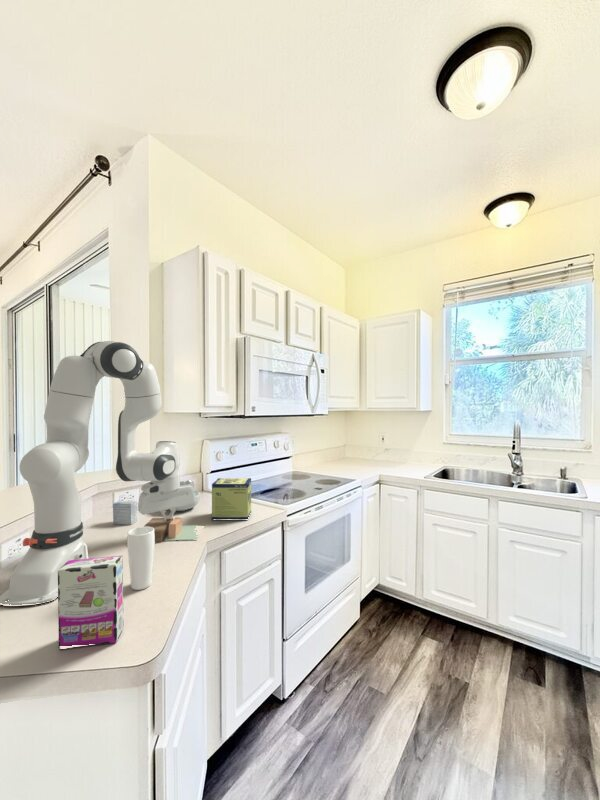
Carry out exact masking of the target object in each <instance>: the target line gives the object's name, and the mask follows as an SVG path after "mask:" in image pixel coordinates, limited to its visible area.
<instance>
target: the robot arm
mask: <svg viewBox="0 0 600 800" xmlns="http://www.w3.org/2000/svg"><path fill="white" fill-rule="evenodd" d="M155 368H156V367H155V366H154V364H152V363H151V362H148V361H145V360H142V359H141V357H140V356H139V353H138V352H137V351H136V350H135V349H134V347H132V346H131V345H130V344H127V343H125V342H122V341H121V342H120V341H119V342H118V341H113V340H106V341H105V340H103V341H98V342H97V341H96V342H94V343H92V344H90V346H88V347H87V348H86V349H85V350H84V351H83V353H81V354H80V355H68V356H65V357H63V358H62V359H61V360H60V361H59V363H58V366H57V367H56V370H55V372H54V374H53V377H52V379H51V384H50V386H49V387H50V388H49V391H48V397H47V401H46V405H45V410H44V414H43V420H44V421H45V424H46V425H45V426H46V441H45V443H42V444H39V445H36V446H35V447H32V448H31V450H29V451H28V452H27V453H26V454H24V455H23V457H22V458H21V460H20V462H19V472H20V473H19V474H20V475H21V477H22V478H23V479H24V480H25V481H26V482H27V483H28V487H29V489H30V492H31V496H32V500H33V512H34V515H33V516H34V517H33V518H34V520H33V521H34V529H33V531H32V533H31V536H30V537H25V538H24V539H23V541H22V543H21V544H22V546H23V547H26V546H29V548H28V550H27V551H26V552H25V554H24V555H23V557H22V558H21V560H20V561H19V562H18V564H17V566H16V567H15V569H14V570H13V571H12V573H11V574H10V576H9V577H10V579H9V586H8V588H7V589H6V590H5V591H4V592H3V593H2V594H1V595H0V603H2V604H9V605H10V604H11V605H22V604H36V603H43V602H47V601H51V600H53V599H55V598H56V597H58V570H59V569H60V568H61V567H62V566H63V565H64V564H65V563H66V562H67V561H69V560H79V559H89V553H88V546H87V543H86V542H85V541H84V539H83V535H84V524H83V521H82V497H81V494H80V493H79V491H78V489H77V485H76V480H75V473H77V472H78V471H80V470H81V469H82V467H84V466H85V464H86V463H87V461H88V458H89V456H90V451H89V429H90V428H89V427H90V419H91V415H92V410H93V409H92V408H93V404H94V400H95V395H96V389H97V385H98V384H99V382H100V381H101V379H103V378H104V377H107V378H112V379H113V378H115V379H119V380H120V382H121V383H122V386H123V391H124V398H125V403H124V408H123V409H122V410H121V412H119V415H118V420H117V422H118V423H117V458H116V464H115V472H116V475H117V477H119V478H120V480H122V481H123V482H136V481H138V482H140V481H141V482H146V483H144V484H142V485H141V486H140V487H141V488H140V489H141V491H142V492H141V493H140V494H139V497H138V501H137V502H138V503H137V504H138V505H137V511H138V513H140V514H141V515H149V514H152V513H157V512H160V514H161V516H162V518H163V521H164V522H166V521H171V520H174V514H175V513H176V508H177V507H182V506H187V505H191V504H194V502H195V495H194V490H195V482H194V481H191V480H185V481H181V473H180V464H181V462H180V461H181V460H180V449H179V445H178V442H176V441H171V440H170V441H167V440H163V441H162V440H161V441H157V442H156V444H155V449H154V450H153V451H151V452H138V451H137V450H136V429H137V427H138V426H139V425H141V424H142V423H144V422H147V421H149V420H152V419H153V418H154V417H156V416H157V415H158V414H159V413H160V412H161V409H162V406H163V399H162V398H163V397H162V391H161V386H160V381H159V377H158V374H157V371H156V369H155ZM167 510H169V511H170V512H169V514H168V515H166V511H167ZM8 600H9V601H8ZM5 601H7V602H5Z"/></svg>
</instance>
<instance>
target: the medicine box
mask: <svg viewBox="0 0 600 800" xmlns="http://www.w3.org/2000/svg"><path fill="white" fill-rule="evenodd" d="M137 502H138V501H137V500H118V501H116V502H114V503H113V504H112V519H113V520H112V521H113V522H112V523H113V525H129V526H130V525H134V523H136V522H137V521H138V512H137V511H138V505H137V504H138V503H137Z"/></svg>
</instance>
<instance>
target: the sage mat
mask: <svg viewBox="0 0 600 800" xmlns="http://www.w3.org/2000/svg"><path fill="white" fill-rule="evenodd" d="M196 526H198V525H194V524H193V525H182V531H181V532H180V533H179V535H178V536H177V537H176V538H168V537H169V534H168V535H167V536H166V537H165V538H164V539H163V541H164V542H177V541H176V540H189V541H194V540H193V539H197V538H198V539H199V537H196V536H198V535H196V532H197V530H194V529H195V528H196ZM194 531H196V532H194ZM198 539H197V540H198Z"/></svg>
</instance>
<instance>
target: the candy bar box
mask: <svg viewBox="0 0 600 800" xmlns="http://www.w3.org/2000/svg"><path fill="white" fill-rule="evenodd" d="M123 562H124V561H123V555H113V556H103V557H91V558H90V557H89V558H88V559H79V560H69V561H67V562H66V563H65V564H64V565H63V566H62V567H61V568H60V569H59V570H58V598H57V605H58V606H57V611H58V613H57V615H58V618H57V619H58V647H59V646H72V645H89V644H102V645H106V644H105V643H109V644H115V643H117V642H118V640H119V638H120V636H121V634H122V633H123V630H124V579H123V578H124V577H123V576H124V574H123V573H124V571H123V569H124V567H123Z"/></svg>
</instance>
